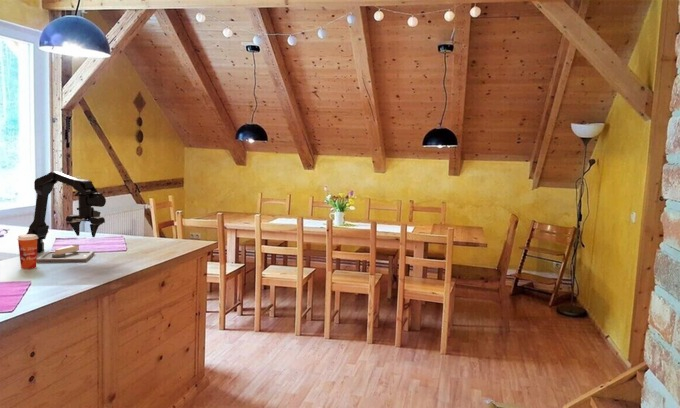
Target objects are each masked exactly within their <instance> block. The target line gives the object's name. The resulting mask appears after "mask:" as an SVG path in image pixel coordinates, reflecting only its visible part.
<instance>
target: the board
mask: <svg viewBox="0 0 680 408" xmlns="http://www.w3.org/2000/svg"><path fill="white" fill-rule="evenodd" d="M54 253H55V250H54V251H53V250H51V251H49V250H48V251H46V252H45V253H43V254H41V255H40V256H37V263H36V264H38V263H39V264H40V263H41V264H42V263H43V264H44V263H86V262H88V261H89V260H90V259H91V258H92V257H93V256H94V255H95V250H78V251H74V252H70V253H66V256H64V257H52V254H54Z"/></svg>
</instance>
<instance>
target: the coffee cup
mask: <svg viewBox="0 0 680 408" xmlns="http://www.w3.org/2000/svg"><path fill="white" fill-rule="evenodd" d="M37 239H38V237H37V235H35V234H27V233H25V234H19V235H18V237H17V238H16V240H17V243H18V251H19V252H18V253H19V261H20V262H19V263H20V268H21V269H22V270H31V269H35V268H37V264H38V263H37V258H38V253H37Z"/></svg>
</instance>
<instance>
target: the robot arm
mask: <svg viewBox="0 0 680 408" xmlns="http://www.w3.org/2000/svg"><path fill="white" fill-rule="evenodd" d="M58 182H59V183H62V184H65V185H67V186H69V187H72V188H73V190H75V191H76V193H75V194H74V196H75V197H77V198H78V199H77V200H78V202H77V203H78V207H76V211H78V214H71V215H67V216H66V217H65V222H66V223H68V224H69V225H70V226H71V228H72V230H73V231H74V233H75V234H76V236H77V237H79V236H80V233H81V232H80V225H81V223H82V222H89V223H90V224H89V227H90V232H91V237H92V238H95V237H96V234H97V231H98V229H99V227H101V225H103V224H105V223H106V219H105V217H103V216H101V211H98V210H95V208H94V207H98V208H99V207H100V208H103V207H105V205H106V203H107V199H106V197H105V196H104V194H103V192H98V190H97V189H96V187H95V186H94V184H93V181H91V180H90V179H84V178H83V179H82V178H76V177H74V176H70V175H68V174H65V173H63V172H61V171H59V170H58V171H49V173H46V174H45V175H42V176H40V177H37V178H35V179H34V183H33V184H34V191H35V193H36V199H35V200H36V201H35V208H34V215H33V220H32V222H31V224H30V225H29V227H28V231H27V232H26V234H35V235H37V237H38V239H37V254H40V253H42V252H44V251H45V243H44V241H43V240H46V237H47V235H48V233H49V228H50V226H49V225H47V223H46V216H47V209H48V201H49V200H48V199H49V195H50V194H51V192H52V191H53V189H54V186H55V185H56V184H57V183H58Z"/></svg>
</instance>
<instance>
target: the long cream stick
mask: <svg viewBox="0 0 680 408" xmlns="http://www.w3.org/2000/svg"><path fill="white" fill-rule="evenodd" d="M54 251H55V253H54V254H52V257H64V256H66V253H70V252H74V251H80V245H79V244H72V245H68V246H64V247H60V248H55V249H54Z"/></svg>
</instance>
